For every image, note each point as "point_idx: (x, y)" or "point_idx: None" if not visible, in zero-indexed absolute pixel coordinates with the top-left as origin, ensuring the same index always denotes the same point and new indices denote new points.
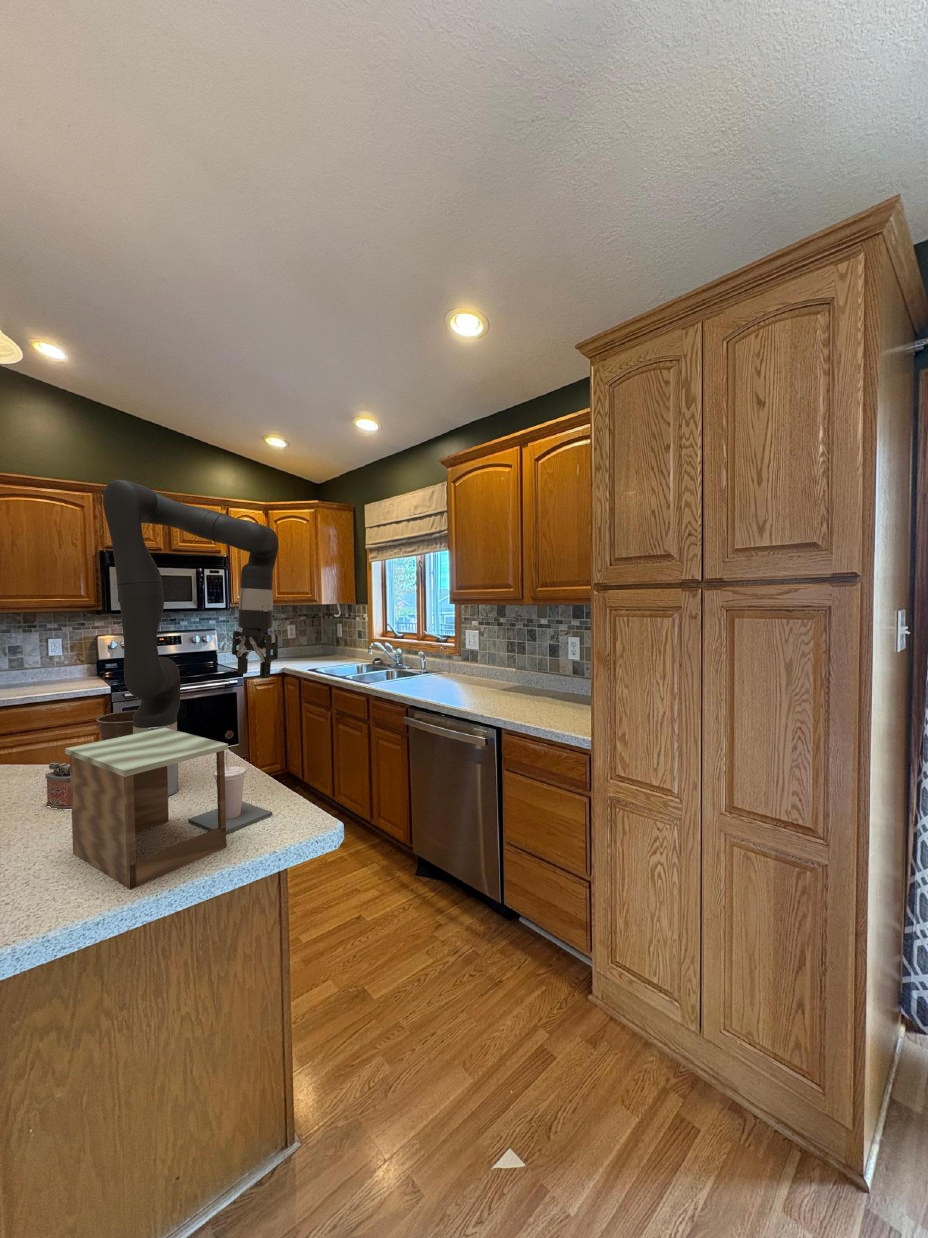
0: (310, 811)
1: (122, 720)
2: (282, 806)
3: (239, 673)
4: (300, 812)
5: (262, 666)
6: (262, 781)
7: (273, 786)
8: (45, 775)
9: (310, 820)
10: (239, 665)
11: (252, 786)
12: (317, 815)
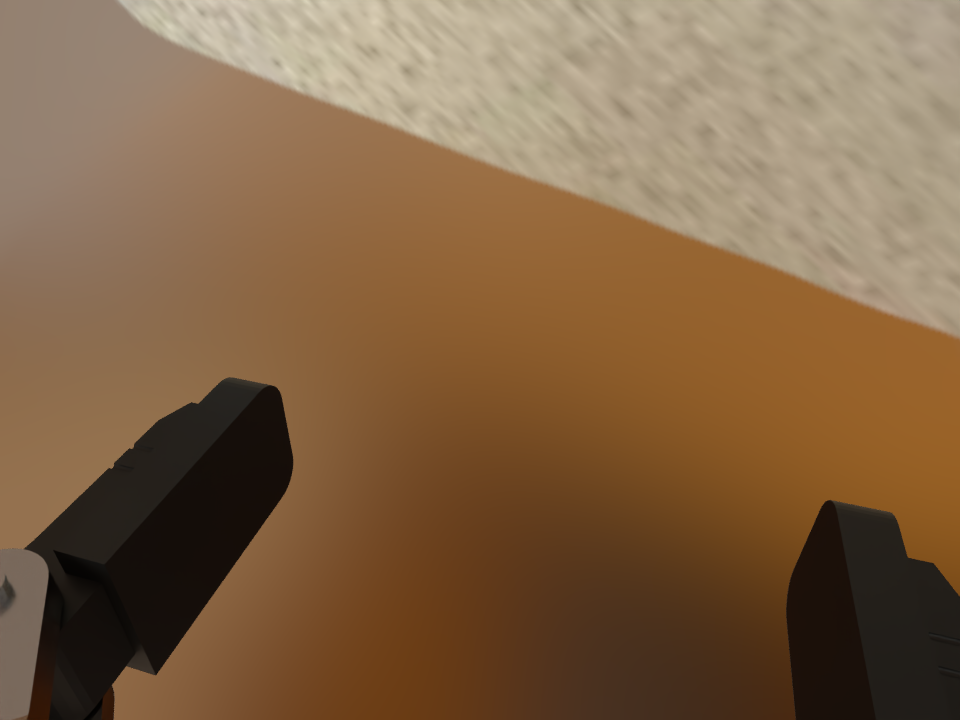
0: (295, 75)
1: None
2: (426, 55)
3: (841, 503)
4: (316, 46)
5: (112, 502)
6: (749, 237)
7: (647, 211)
8: None
9: (224, 6)
10: (864, 631)
11: (747, 168)
12: (244, 59)
